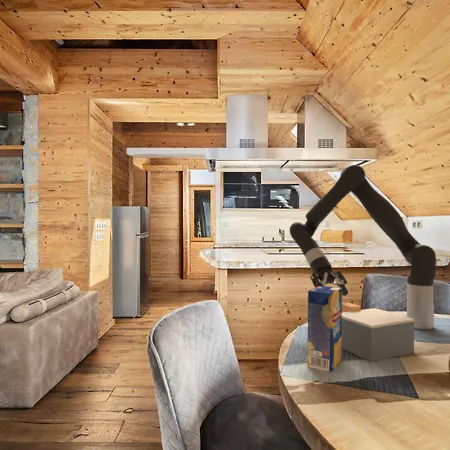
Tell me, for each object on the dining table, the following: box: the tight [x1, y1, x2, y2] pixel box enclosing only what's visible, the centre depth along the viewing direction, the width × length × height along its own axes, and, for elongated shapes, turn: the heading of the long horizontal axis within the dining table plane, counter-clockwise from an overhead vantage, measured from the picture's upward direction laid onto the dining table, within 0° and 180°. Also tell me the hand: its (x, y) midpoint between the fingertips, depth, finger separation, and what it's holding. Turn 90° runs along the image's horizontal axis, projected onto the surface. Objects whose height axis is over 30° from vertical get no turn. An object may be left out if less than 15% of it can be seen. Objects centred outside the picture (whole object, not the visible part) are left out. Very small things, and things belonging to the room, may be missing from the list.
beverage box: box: [306, 285, 343, 373], centre depth 107 cm, size 7×11×22 cm, turn 147°
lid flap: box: [342, 301, 414, 328], centre depth 123 cm, size 19×23×2 cm
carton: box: [341, 319, 415, 363], centre depth 120 cm, size 19×16×10 cm
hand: (337, 295), depth 135 cm, fingers open, 8 cm apart
